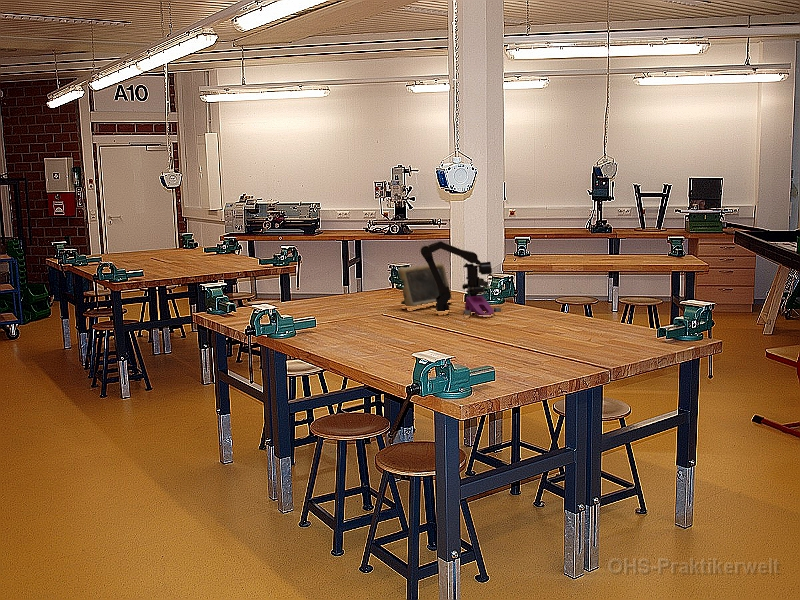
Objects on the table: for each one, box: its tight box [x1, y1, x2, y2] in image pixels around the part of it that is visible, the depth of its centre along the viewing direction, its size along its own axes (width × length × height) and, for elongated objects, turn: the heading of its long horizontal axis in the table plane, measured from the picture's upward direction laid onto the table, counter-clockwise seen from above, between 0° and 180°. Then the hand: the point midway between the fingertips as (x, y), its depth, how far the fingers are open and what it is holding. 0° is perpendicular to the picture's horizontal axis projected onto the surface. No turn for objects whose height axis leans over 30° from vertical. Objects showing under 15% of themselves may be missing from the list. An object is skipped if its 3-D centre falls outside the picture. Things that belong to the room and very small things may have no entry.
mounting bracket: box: [464, 295, 494, 316], centre depth 437 cm, size 10×8×18 cm
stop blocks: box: [462, 306, 502, 315], centre depth 434 cm, size 20×3×4 cm, turn 104°
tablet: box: [397, 261, 453, 306], centre depth 472 cm, size 33×14×25 cm, turn 133°
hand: (473, 303), depth 446 cm, fingers closed
